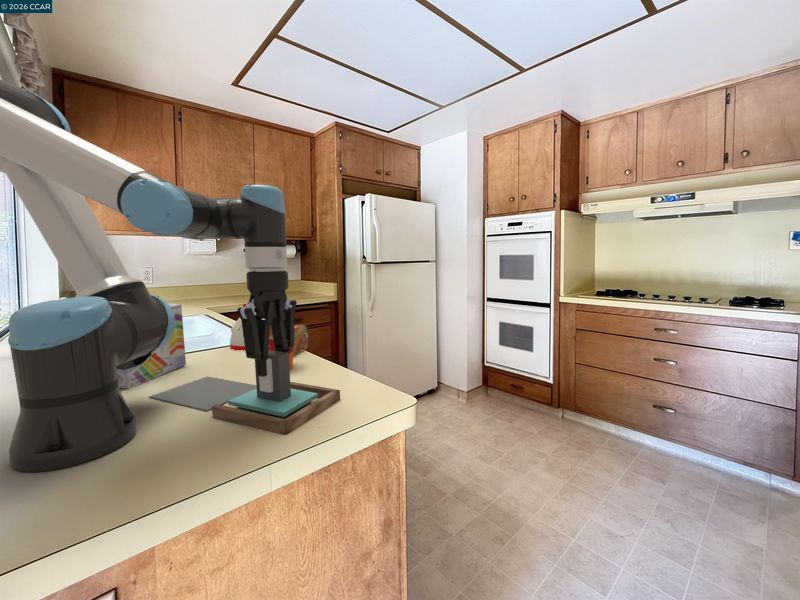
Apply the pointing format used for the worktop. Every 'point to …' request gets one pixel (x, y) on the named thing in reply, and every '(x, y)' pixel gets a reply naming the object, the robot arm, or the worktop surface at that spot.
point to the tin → (300, 339)
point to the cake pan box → (156, 357)
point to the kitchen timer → (237, 335)
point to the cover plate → (273, 405)
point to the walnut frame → (278, 424)
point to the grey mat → (204, 393)
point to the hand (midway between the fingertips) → (273, 387)
